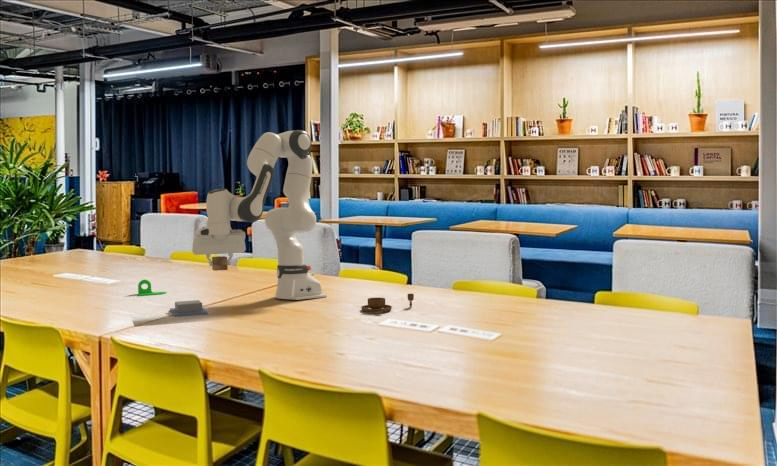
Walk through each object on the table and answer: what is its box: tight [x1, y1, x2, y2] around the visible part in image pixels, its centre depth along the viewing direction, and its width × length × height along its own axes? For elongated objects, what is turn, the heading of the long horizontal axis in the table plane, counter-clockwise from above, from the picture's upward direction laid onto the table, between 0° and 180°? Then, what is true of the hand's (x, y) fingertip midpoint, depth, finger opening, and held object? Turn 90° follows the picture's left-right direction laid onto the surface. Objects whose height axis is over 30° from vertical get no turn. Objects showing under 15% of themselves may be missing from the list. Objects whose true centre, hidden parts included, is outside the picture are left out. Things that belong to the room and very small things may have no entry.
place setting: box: [361, 293, 415, 314], centre depth 260 cm, size 18×20×6 cm
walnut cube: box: [211, 255, 229, 272], centre depth 261 cm, size 5×5×5 cm
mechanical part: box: [137, 279, 167, 297], centre depth 301 cm, size 12×6×8 cm, turn 110°
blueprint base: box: [169, 299, 209, 317], centre depth 257 cm, size 12×16×4 cm
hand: (219, 265), depth 261 cm, fingers closed on walnut cube, 5 cm apart
